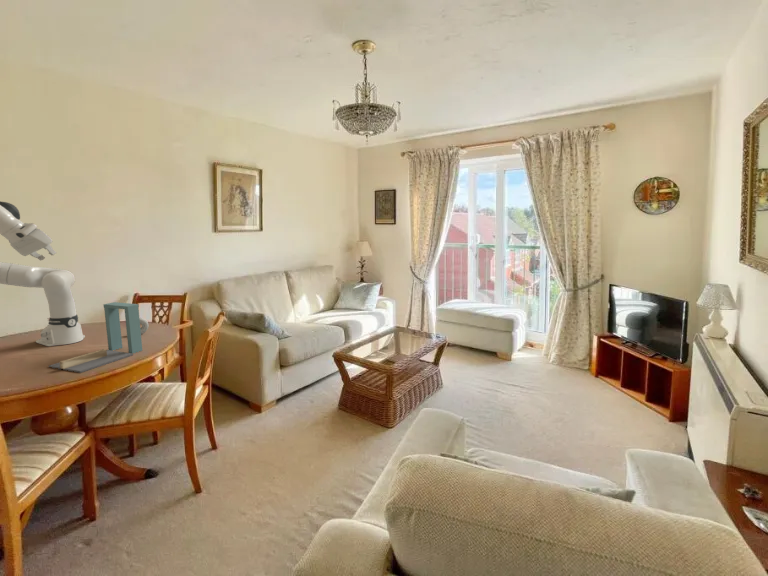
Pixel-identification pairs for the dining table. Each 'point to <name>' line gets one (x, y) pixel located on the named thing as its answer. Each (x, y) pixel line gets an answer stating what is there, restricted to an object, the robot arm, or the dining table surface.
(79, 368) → the mat
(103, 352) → the stick
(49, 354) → the dining table surface
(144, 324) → the donut
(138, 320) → the teal arch
